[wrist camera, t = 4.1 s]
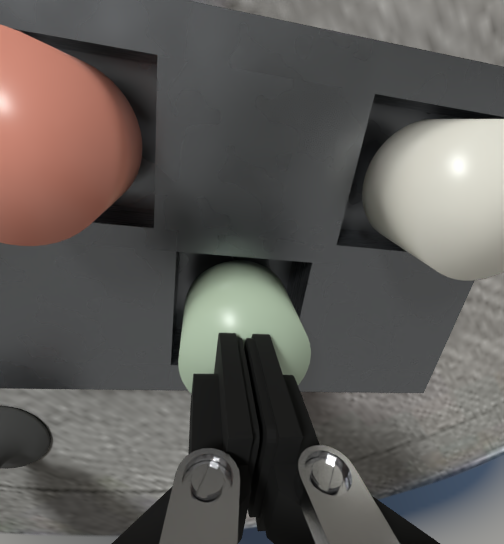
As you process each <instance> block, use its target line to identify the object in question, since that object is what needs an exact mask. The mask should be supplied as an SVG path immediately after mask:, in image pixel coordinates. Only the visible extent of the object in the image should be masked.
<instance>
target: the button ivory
mask: <svg viewBox="0 0 504 544" xmlns="http://www.w3.org/2000/svg"><path fill="white" fill-rule="evenodd" d="M362 202H363V208H364V211H365V214H366V217H367V219H368V221H369V222H370V224H371V225H372V227H373V228H374V229H375V230H376V231H377V232H379V233H380V234H381V235H383V236H384V237H386V238H387V239H389V240H390V241H392V242H393V243H395V244H396V245H398V246H399V247H401V248H402V249H404V250H405V251H407V252H408V253H410V254H411V255H413V256H415V257H416V258H418V259H419V260H421V261H422V262H424V263H425V264H427V265H428V266H430V267H431V268H433V269H434V270H436V271H437V272H439V273H440V274H442V275H444V276H446V277H449V278H452V279H456V280H463V281H473V280H481V279H485V278H489V277H492V276H495V275H498V274H500V273H503V272H504V119H426V120H421V121H417V122H414V123H412V124H409V125H407V126H405V127H403V128H402V129H400V130H399V131H397V132H396V133H394V134H393V135H392V136H391V137H390V138H388V139H387V140H386V141H385V142H384V144H383V145H382V146H381V147H380V148H379V150H378V151H377V152H376V154H375V155H374V157H373V159H372V160H371V162H370V164H369V166H368V169H367V171H366V174H365V178H364V182H363V189H362Z"/></svg>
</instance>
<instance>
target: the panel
mask: <svg viewBox="0 0 504 544" xmlns="http://www.w3.org/2000/svg"><path fill="white" fill-rule="evenodd" d="M0 25H4V26H7V27H9V28H12V29H14V30H17V31H20V32H22V33H24V34H26V35H28V36H30V37H33V38H35V39H37V40H39V41H41V42H43V43H45V44H47V45H50V46H52V47H54V48H56V49H58V50H60V51H62V52H65V53H67V54H69V55H71V56H73V57H75V58H77V59H79V60H82V61H84V62H85V63H87V64H89V65H91V66H93V67H95V68H96V69H98V70H99V71H100V72H102V73H103V74H104V75H106V76H107V77H108V78H109V79H110V80H111V81H112V82H113V83H114V84H115V85H116V86H117V87H118V88H119V89H120V90H121V92H122V93H123V94H124V96H125V97H126V98H127V100H128V102H129V103H130V105H131V107H132V109H133V111H134V113H135V115H136V118H137V120H138V124H139V127H140V131H141V136H142V159H141V164H140V168H139V171H138V174H137V176H136V178H135V180H134V182H133V183H132V185H131V186H130V187H129V189H128V190H127V191H126V192H125V193H124V194H123V195H122V196H121V197H120V198H119V199H117V200H116V201H115V202H114V203H113V204H112V205H111V206H110V207H109V208H108V209H107V210H105V211H104V212H103V213H102V214H101V215H100V216H99V217H98V218H97V219H96V220H95V221H94V222H92V223H91V224H90V225H89V226H88V227H87V228H85V229H84V230H82V231H81V232H80V233H78V234H76V235H74V236H72V237H71V238H68V239H66V240H63V241H60V242H57V243H53V244H48V245H40V246H18V245H10V244H4V243H0V388H24V389H112V390H188V389H187V388H186V387H185V385H184V383H183V381H182V379H181V376H180V373H179V368H178V359H179V350H180V341H181V332H182V323H183V315H184V306H185V299H186V295H187V293H188V290H189V288H190V286H191V285H192V283H193V282H194V281H195V280H196V278H197V277H198V276H199V275H201V274H202V273H203V272H204V271H206V270H207V269H209V268H211V267H213V266H215V265H217V264H220V263H223V262H228V261H235V260H243V261H251V262H254V263H258V264H260V265H263V266H265V267H266V268H268V269H270V270H271V271H272V272H273V273H275V274H276V275H277V277H278V278H279V279H280V280H281V282H282V283H283V285H284V287H285V289H286V292H287V294H288V296H289V298H290V300H291V302H292V304H293V307H294V309H295V311H296V313H297V315H298V317H299V319H300V321H301V324H302V326H303V328H304V330H305V332H306V334H307V336H308V339H309V342H310V348H311V358H310V364H309V367H308V370H307V372H306V374H305V376H304V378H303V379H302V381H301V382H300V384H299V385H298V387H299V390H300V392H378V393H424V391H425V389H426V386H427V384H428V382H429V380H430V378H431V375H432V373H433V371H434V369H435V366H436V364H437V362H438V360H439V358H440V355H441V353H442V351H443V349H444V347H445V344H446V342H447V340H448V338H449V336H450V333H451V331H452V329H453V327H454V325H455V322H456V320H457V318H458V316H459V313H460V311H461V309H462V307H463V305H464V302H465V300H466V298H467V296H468V294H469V291H470V289H471V287H472V285H473V283H474V280H473V281H463V280H456V279H452V278H449V277H446V276H444V275H442V274H440V273H439V272H437V271H436V270H434V269H433V268H431V267H430V266H428V265H427V264H425V263H424V262H422V261H421V260H419V259H418V258H416V257H415V256H413V255H411V254H410V253H408V252H407V251H405V250H404V249H402V248H401V247H399V246H398V245H396V244H395V243H393V242H392V241H390V240H389V239H387V238H386V237H384V236H383V235H381V234H380V233H379V232H377V231H376V230H375V229H374V228H373V227H372V225H371V224H370V222H369V221H368V219H367V217H366V214H365V211H364V208H363V202H362V189H363V182H364V178H365V174H366V171H367V169H368V166H369V164H370V162H371V160H372V159H373V157H374V155H375V154H376V152H377V151H378V150H379V148H380V147H381V146H382V145H383V144H384V142H385V141H386V140H387V139H388V138H390V137H391V136H392V135H393V134H394V133H396V132H397V131H399V130H400V129H402V128H403V127H405V126H407V125H409V124H412V123H414V122H417V121H421V120H426V119H504V67H502V66H498V65H493V64H488V63H483V62H479V61H474V60H469V59H464V58H460V57H455V56H450V55H445V54H441V53H436V52H431V51H426V50H422V49H417V48H412V47H407V46H403V45H398V44H393V43H388V42H383V41H379V40H374V39H369V38H364V37H360V36H355V35H350V34H345V33H341V32H336V31H331V30H326V29H322V28H317V27H312V26H307V25H303V24H298V23H293V22H288V21H284V20H279V19H274V18H269V17H265V16H260V15H255V14H250V13H245V12H241V11H236V10H231V9H226V8H222V7H217V6H212V5H207V4H203V3H198V2H193V1H188V0H0Z"/></svg>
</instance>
